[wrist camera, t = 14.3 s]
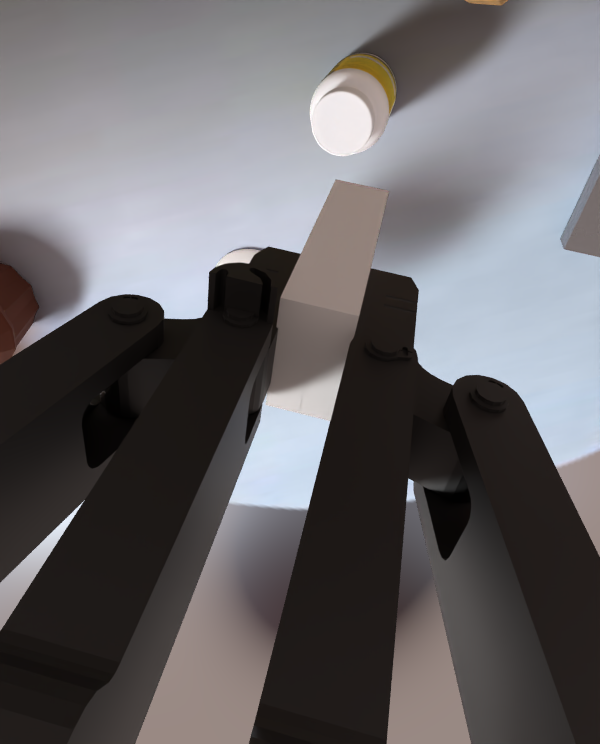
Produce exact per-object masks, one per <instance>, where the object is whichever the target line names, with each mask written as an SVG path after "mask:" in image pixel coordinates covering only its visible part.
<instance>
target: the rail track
mask: <svg viewBox="0 0 600 744" xmlns="http://www.w3.org/2000/svg"><path fill="white" fill-rule="evenodd" d="M560 240H561V242H562V245H563V248H564V249H566V250H570V251H575V252H579V253H584V254H588V255H593V256H597V257H600V155H599V157H598V159H597V162H596V164H595V166H594V168H593V170H592V172H591V174H590V177H589V179H588V181H587V183H586V185H585V187H584V189H583V191H582V194H581V196H580V198H579V200H578V202H577V204H576V206H575V208H574V211H573V213H572V215H571V217H570V219H569V221H568V223H567V226H566V228H565V230H564V232H563V234H562V236H561V238H560Z"/></svg>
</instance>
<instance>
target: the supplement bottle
mask: <svg viewBox="0 0 600 744" xmlns="http://www.w3.org/2000/svg"><path fill="white" fill-rule="evenodd" d="M396 92H397V88H396V81H395V77H394V74H393V72H392V70H391V69H390V67H389V66H388V65H387V63H386V62H385V61H383V60H382V59H381V58H379V57H377V56H375V55H373V54H369V53H356V54H352V55H349V56H347V57H346V58H344V59H343V60H341V61H340V62H339V63H338V64H337V65H336V66H335V67H334V68H333V69H332V70H331V71H330V73H329V74H328V75H327V76H326V77H325V78H324V79H323V80H322V81H321V83H320V84H319V86H318V87H317V89H316V90H315V92H314V95H313V97H312V101H311V106H310V119H311V124H312V131H313V135H314V137H315V139H316V141H317V143H318V144H319V145H320V146H321V147H322V148H323V149H324V150H325V151H327V152H328V153H330V154H333V155H337V156H348V155H352V154H355V153H360V152H362V151H365V150H367V149H368V148H370V147H371V146H373V145H374V144H375V143H376V142H377V141H378V140H379V138H380V137H381V135H382V134H383V132H384V130H385V127H386V125H387V122H388V119H389V117H390V114H391V112H392V109H393V106H394V104H395V100H396Z"/></svg>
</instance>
